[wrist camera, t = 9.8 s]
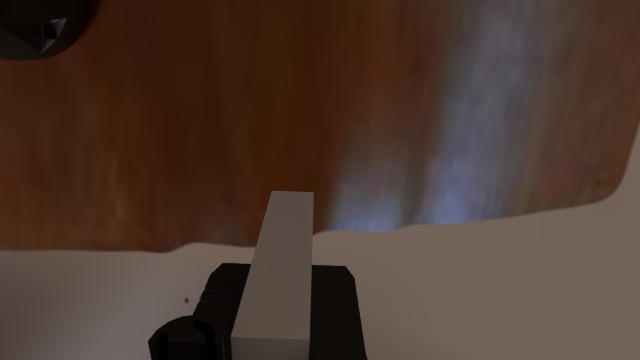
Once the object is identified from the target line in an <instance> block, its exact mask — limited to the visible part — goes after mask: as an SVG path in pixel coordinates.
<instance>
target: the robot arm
mask: <svg viewBox="0 0 640 360" xmlns="http://www.w3.org/2000/svg"><path fill="white" fill-rule="evenodd" d="M87 2H88V0H0V59H5V60H14V61H23V60H36V59H44V58H48V57H51V56H54V55H56V54H59V53H60V52H62V51H64V50H65V49H66V48H68V47H69V46H70V45H71V44H72V43H73V42H74V40H75V39H76V38H77V36H78V35H79V33H80V31H81V29H82V27H83V24H84V21H85V17H86V13H87ZM313 196H314V193H313V192H289V191H272V193H271V197H270V200H269V204H268V207H267V211H266V214H265V218H264V221H263V225H262V228H261V232H260V236H259V239H258V243H257V246H256V250H255V253H254V257H253V260H252V264H238V263H222V264H221V265H220V266H219V267H218V268H217V269H216V270H215V271H214V272H213V273H212V274H211V275H210V277H209V279H208V281H207V284H206V286H205V290H204V291H203V293H202V295H201V298H200V301H199V303H198V304H197V307H196V309H195V311H194V313H193V315H190V316H182V317H180V318H177V319H174V320H172V321H169V322H168V323H166V324H165V325H163V326H162V327H160V328H159V329H158V330H156V332H155V333H154V334H153V336H152V337H151V338H150V339H149V341H148V344H149V349H150V354H151V359H152V360H368V359H367V356H366V353H365V346H364V339H363V334H362V326H361V319H360V312H359V307H358V299H357V294H356V285H355V278H354V277H353V275H352V274H351V273H350V271H349V270H348V269H347V268H346V266H325V265H312V233H313Z"/></svg>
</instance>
